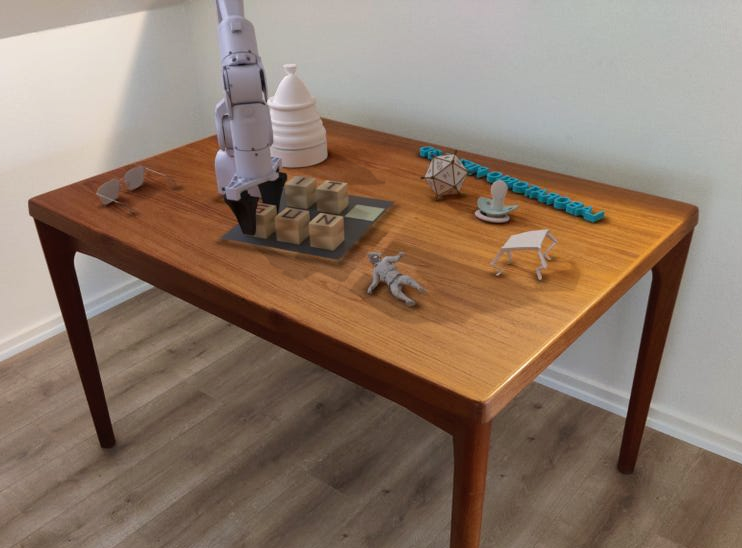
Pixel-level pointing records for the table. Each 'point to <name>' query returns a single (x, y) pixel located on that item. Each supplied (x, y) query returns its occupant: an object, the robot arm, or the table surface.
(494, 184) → the pacifier
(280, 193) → the robot arm
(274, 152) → the honey pot
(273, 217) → the block
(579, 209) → the text ornament
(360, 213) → the letter board
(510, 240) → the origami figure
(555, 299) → the table surface
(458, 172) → the game die
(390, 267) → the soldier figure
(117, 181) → the eyeglasses
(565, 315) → the table surface
